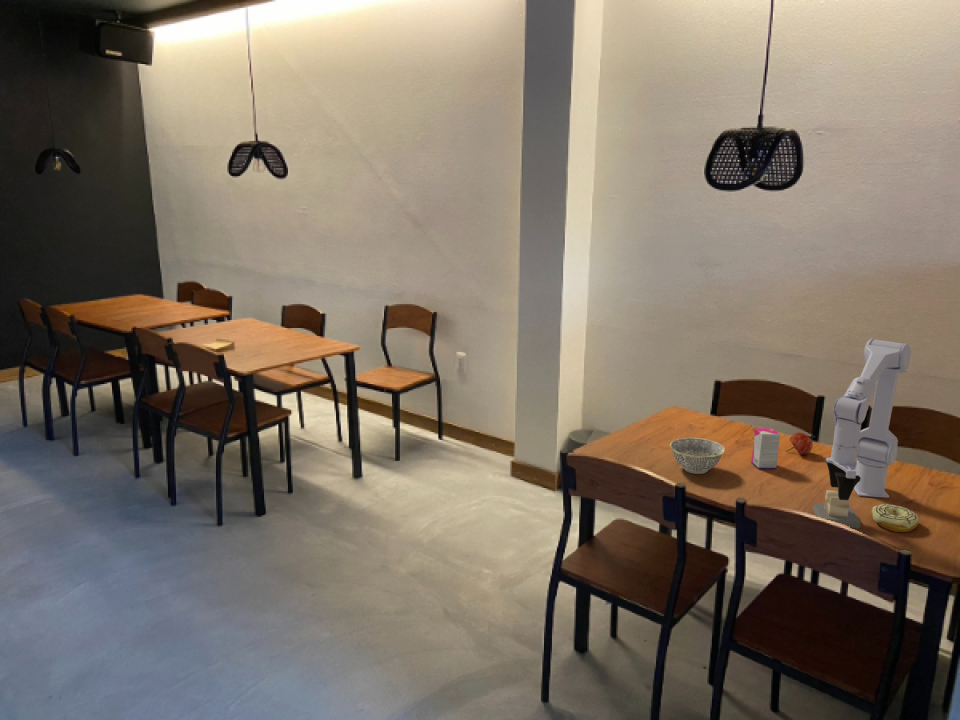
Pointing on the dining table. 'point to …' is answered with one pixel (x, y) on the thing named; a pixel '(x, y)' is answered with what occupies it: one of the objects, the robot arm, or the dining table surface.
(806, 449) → the red stemmed fruit
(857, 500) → the dining table surface
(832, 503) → the birch block
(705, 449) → the bowl
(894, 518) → the decorated donut
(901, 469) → the dining table surface
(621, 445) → the dining table surface
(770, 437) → the supplement box
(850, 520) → the slate base
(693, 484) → the dining table surface
